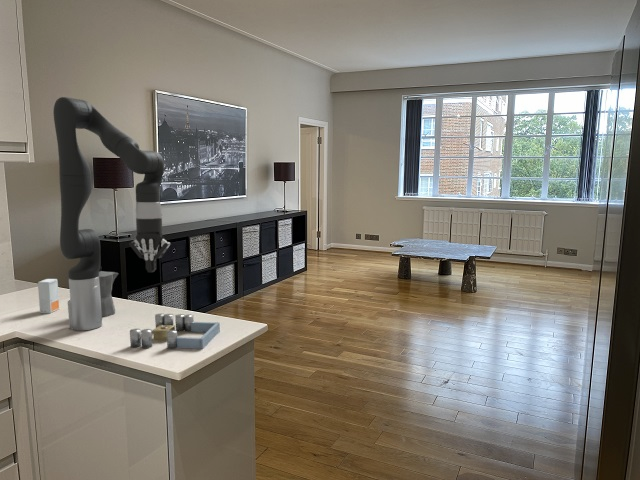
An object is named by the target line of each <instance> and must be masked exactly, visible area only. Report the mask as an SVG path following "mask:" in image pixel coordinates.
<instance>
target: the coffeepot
mask: <svg viewBox="0 0 640 480" xmlns="http://www.w3.org/2000/svg"><path fill="white" fill-rule="evenodd" d="M102 267H103V266H101V265H100V270H99V282H100V297H101V312H102V318H104V317H105V318H106V317H111V316H113V315H115V314H116V308H115V304H114V300H113V296H112V291H113V284H114V281H115V279H116V278H117V277H118V275H120V274H119V273H118V272H115V271H104V270H103V271H102Z"/></svg>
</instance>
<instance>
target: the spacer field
mask: <svg viewBox="0 0 640 480" xmlns="http://www.w3.org/2000/svg"><path fill="white" fill-rule="evenodd" d="M154 318H155V328H157V327H158V326H159V325H174V323H175V330H169V331H167V341H166V348H167V349H168V350H175V349H177V337H178V332H184V331H185V332H192V331H191V322H195V321H194V319H195V318H194V314H191V313H190V314H183V313H178V314H175V316H174V313H156V314H154ZM174 318H175V319H174ZM174 320H175V322H174ZM152 333H153V330H152V329H151V328H144V329H140V328H132V329H130V330H129V340H130V348H132V349H136V348H140V347H141V348H142V349H150V348H152V347H153V334H152Z"/></svg>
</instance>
